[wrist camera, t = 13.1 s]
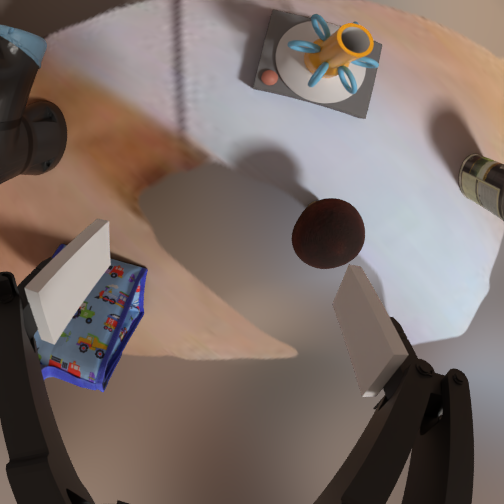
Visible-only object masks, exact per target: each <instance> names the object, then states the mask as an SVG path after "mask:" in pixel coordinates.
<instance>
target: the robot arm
mask: <svg viewBox="0 0 504 504" xmlns="http://www.w3.org/2000/svg"><path fill="white" fill-rule="evenodd" d="M46 47H47V44H46V41H45V40H44V39H43V38H42V37H40V36H37V35H35V34H32V33H30V32H27V31H24V30H20V29H17V28H12V27H9V26H5V25H0V184H1V183H3V182H5V181H7V180H9V179H11V178H14V177H16V176H18V175H20V174H22V175H40V174H43V173H45V172H48V171H50V170H51V169H53V168H54V167H55V166H56V165H57V164H58V163H59V161H60V160H61V158H62V156H63V153H64V150H65V147H66V141H67V127H66V122H65V119H64V116H63V114H62V112H61V111H60V109H59V108H58V107H57V106H56V105H55V104H53V103H51V102H48V101H42V102H35V103H32V104H30V105H28V106H26V103H27V100H28V97H29V94H30V91H31V88H32V85H33V82H34V79H35V77H36V74H37V71H38V69H40V67H41V61H42V59H43V56H44V54H45V51H46ZM110 265H111V262H110V242H109V221H107V220H101V219H96V220H95V221H94V222H93V223H92V224H90V225H89V226H88V227H87V228H86V229H85V230H84V231H82V232H81V233H80V234H79V235H78V236H77V237H76V238H75V239H73V240H72V241H71V242H70V243H69V244H68V245H67V246H66V247H65V248H64V249H63V250H62V251H60V252H59V253H58V254H57V255H56V256H55V257H54V258H52V257H50V258H48V259H46V260H44V261H42V262H41V263H40V264H39V265H38V266H37V267H36V269H34V270H33V271H32V272H31V274H29V275H28V276H27V277H26V278H25V279H24V280H23V281H22V282H21V283H20V284H19V285H18V286H17V285H16V281H15V278H14V275H13V274H12V273H11V272H0V419H1V425H2V429H3V434H4V438H5V442H6V446H7V450H8V454H9V458H10V461H9V463H8V464H6V472H7V476H8V480H9V483H10V486H11V488H12V491H13V494H14V497H15V499H16V501H17V504H95V503H94V501H93V499H92V498H91V496H90V494H89V493H88V491H87V489H86V488H85V487H84V485H83V484H82V482H81V481H80V479H79V477H78V476H77V473H76V471H75V469H74V467H73V465H72V463H71V460H70V458H69V456H68V453H67V451H66V448H65V446H64V443H63V440H62V438H61V435H60V432H59V430H58V427H57V424H56V421H55V418H54V415H53V412H52V408H51V406H50V402H49V398H48V395H47V391H46V387H45V383H44V379H43V375H42V370H41V366H40V361H39V356H38V351H37V345H36V340H35V338H34V334H35V333H36V331H37V330H38V332H39V335H40V337H41V340H44V341H46V342H49V343H51V344H54V345H55V343H56V342H57V340H58V339H59V337H60V336H61V334H62V332H63V331H64V329H65V328H66V326H67V325H68V323H69V322H70V320H71V319H72V317H73V316H74V314H75V313H76V311H77V310H78V309H79V307H80V306H81V304H82V303H83V301H84V300H85V299H86V297H87V296H88V294H89V293H90V292H91V290H92V289H93V287H94V286H95V285H96V283H97V282H98V281H99V279H100V278H101V277H102V275H103V274H104V273H105V271H106V270H107V269H108V268H109V266H110ZM332 305H333V308H334V310H335V313H336V316H337V319H338V322H339V325H340V328H341V331H342V334H343V337H344V340H345V343H346V346H347V350H348V353H349V356H350V359H351V362H352V365H353V369H354V372H355V375H356V378H357V382H358V385H359V389H360V392H361V396H362V397H369V396H377V395H378V393H379V392H380V391H381V390H382V389H384V392H385V396H384V397H383V398H382V399H381V400H380V402H379V403H378V404H377V405H376V406H375V407H374V409H376V408H377V409H376V411H375V412H374V415H373V416H372V418H371V420H370V421H369V423H368V425H367V427H366V428H365V430H364V432H363V433H362V435H361V437H360V439H359V440H358V442H357V443H356V445H355V447H354V448H353V450H352V451H351V453H350V454H349V456H348V457H347V459H346V461H345V462H344V463H343V465H342V466H341V468H340V469H339V471H338V472H337V473H336V475H335V476H334V478H333V479H332V480H331V482H330V483H329V484H328V486H327V487H326V488H325V490H324V491H323V492H322V494H321V495H320V496H319V497H318V499H317V500H316V501H315V502H314V503H313V504H386V502H387V500H388V498H389V496H390V494H391V492H392V490H393V489H394V487H395V484H396V483H397V481H398V478H399V476H400V474H401V472H402V470H403V468H404V465H405V463H406V461H407V459H408V456H409V454H410V451H411V449H412V453H411V459H410V466H409V471H408V477H407V482H406V487H405V491H404V496H403V500H402V504H471V503H472V491H473V476H474V474H473V473H474V437H473V419H472V408H471V399H470V390H469V383H468V379H467V378H466V376H465V374H464V373H463V372H462V371H460V370H458V369H450V370H449V372H448V373H447V374H446V375H445V376H444V375H440V374H437V373H435V372H434V369H433V367H432V366H431V365H430V364H429V363H427V362H426V361H424V360H422V359H418V358H417V356H416V354H415V352H414V350H413V348H412V346H411V344H410V342H409V340H408V339H407V336H406V334H405V333H404V331H403V329H402V327H401V325H400V324H399V323H398V322H397V321H396V320H395V319H394V318H393V317H389V315H388V314H387V312H386V310H385V308H384V306H383V304H382V302H381V301H380V299H379V297H378V295H377V294H376V292H375V290H374V288H373V287H372V285H371V283H370V281H369V279H368V278H367V276H366V274H365V273H364V271H363V269H362V268H361V267H360V266H355V265H350V264H349V266H348V268H347V271H346V273H345V276H344V278H343V280H342V283H341V285H340V288H339V290H338V292H337V295H336V297H335V299H334V301H333V304H332ZM117 504H129V503H125V502H122V501H117Z"/></svg>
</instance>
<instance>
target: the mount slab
mask: <svg viewBox="0 0 504 504" xmlns="http://www.w3.org/2000/svg"><path fill="white" fill-rule="evenodd" d="M317 23H318V26H319V28H320V30H321V32H322V33H323V35H324V31H323V28H322V26H321V25H320V23H319V22H318V21H317ZM326 23H327V25H328V27H329V30H330V34H331V35H332V34H333V33H335V32H336V31H337V30H338V29H339V28H340V27H338V26H336V25H334V24H331V23H328V22H326ZM324 36H325V35H324ZM317 39H320V38H319V37H318V35H317V34H316V32H315V30H314V28H313V26H312V23H311V19H310V18H307V17H303V16H299V15H295V14H291V13H287V12H282V11H278V10H273V11H272V14H271V18H270V22H269V26H268V30H267V34H266V38H265V42H264V46H263V50H262V54H261V58H260V62H259V66H258V70H257V74H256V78H255V83H254V87H253V89H256V90H261V91H266V92H270V93H275V94H279V95H283V96H288V97H292V98H295V99H299V100H303V101H307V102H310V103H314V104H317V105H321V106H324V107H327V108H330V109H334V110H337V111H340V112H343V113H346V114H349V115H352V116H355V117H357V118H363V119H365V118H366V114H367V111H368V107H369V103H370V98H371V94H372V90H373V86H374V82H375V77H376V73H377V68H378V67H377V68H366V67H361V66H358V65H355V64H352V63H350V64H349V67H348V68H349V70H350V71H351V72H352V74H353V76H354V78H355V80H356V83H357V92H356V93H355V94H350V93H349V92H348V91H347V90H346V89H345V88H344V86H343V85H342V83H341V80H340V78H339V75H337V76H335V77H332V78H321V79H320V81H319V82H318V83H317V84H316V85H315V86H314V87H309V86H308V82H309V80H310V78H311V77H312V75H313V74H312V73H311V72H310V71H309V70H308V69H307V67H306V65H305V63H304V54H305V52H300V51H296V50H293V49H291V48H289V47H288V45H287V44H288V42H289V41H292V40H302V41H308V42H312V43H313V42H314V41H316V40H317ZM373 42H374V46H373V50H372V51H371V53H370V54H368V55H366V56H365V57H369V58H371V59H374V60H375V61H377V62H378V63H379V59H380V54H381V49H382V44H380V43H378V42H376V41H373ZM301 47H305V46H301ZM306 48H308V47H306ZM361 62H363V61H361ZM366 63H367V62H366ZM344 76H345V79H346V81H347V83H348V84H349V86H350V87H351V83H350V81H349V78H348V76H347V75H346V73H345V72H344Z"/></svg>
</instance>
